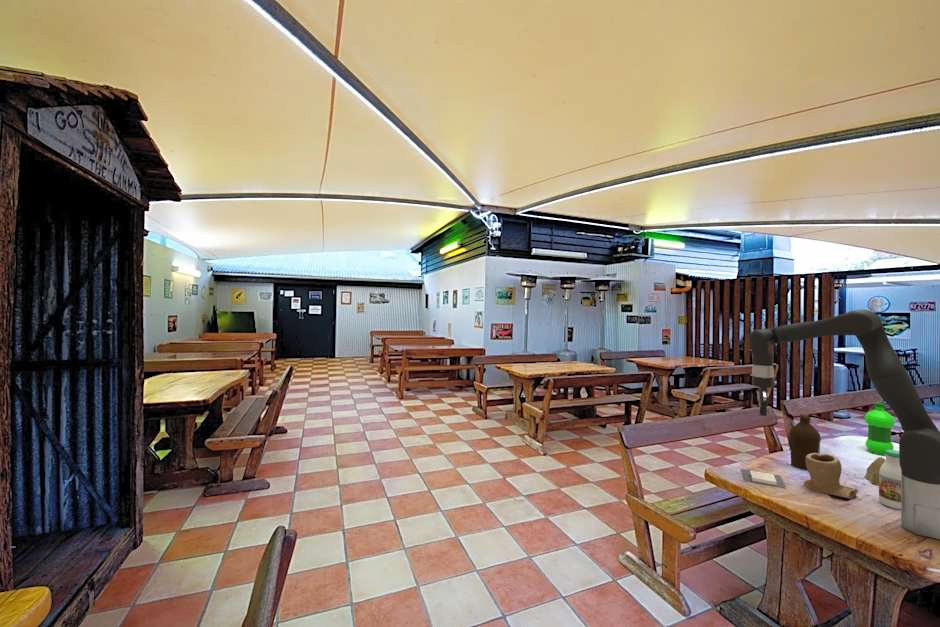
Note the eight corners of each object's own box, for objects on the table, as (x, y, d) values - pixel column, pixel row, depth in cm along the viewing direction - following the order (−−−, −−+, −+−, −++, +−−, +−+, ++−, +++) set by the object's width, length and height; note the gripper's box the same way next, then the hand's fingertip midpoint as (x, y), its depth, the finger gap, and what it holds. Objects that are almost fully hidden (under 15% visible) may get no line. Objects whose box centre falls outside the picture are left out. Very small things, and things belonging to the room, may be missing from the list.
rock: (887, 483, 153) (901, 476, 156) (869, 462, 157) (883, 455, 161) (860, 489, 162) (874, 482, 165) (844, 469, 166) (857, 463, 169)
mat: (786, 492, 152) (786, 489, 152) (743, 483, 159) (743, 481, 159) (780, 478, 164) (780, 475, 164) (740, 471, 171) (740, 468, 171)
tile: (773, 478, 161) (776, 486, 154) (750, 474, 165) (752, 481, 158) (773, 474, 161) (776, 482, 154) (750, 470, 165) (752, 477, 158)
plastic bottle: (858, 449, 195) (858, 400, 195) (877, 448, 196) (878, 400, 196) (880, 457, 185) (881, 405, 185) (901, 456, 186) (901, 405, 185)
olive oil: (794, 472, 170) (794, 416, 169) (785, 463, 180) (785, 410, 179) (825, 475, 166) (825, 418, 165) (814, 466, 175) (814, 412, 175)
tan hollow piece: (800, 491, 153) (800, 453, 152) (806, 482, 160) (806, 446, 160) (853, 506, 141) (854, 465, 141) (858, 495, 148) (858, 457, 148)
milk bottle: (877, 497, 147) (877, 446, 146) (907, 504, 142) (907, 450, 141) (881, 506, 141) (881, 452, 140) (912, 513, 136) (913, 457, 135)
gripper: (750, 372, 172) (750, 410, 172) (753, 377, 161) (754, 418, 161) (771, 373, 168) (771, 412, 168) (776, 378, 157) (776, 420, 157)
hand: (763, 415), depth 165 cm, fingers closed
